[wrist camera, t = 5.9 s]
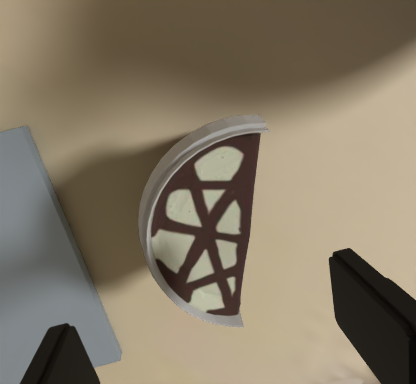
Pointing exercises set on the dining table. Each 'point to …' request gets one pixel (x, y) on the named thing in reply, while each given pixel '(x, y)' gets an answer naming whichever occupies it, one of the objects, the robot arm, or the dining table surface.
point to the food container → (203, 217)
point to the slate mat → (41, 266)
